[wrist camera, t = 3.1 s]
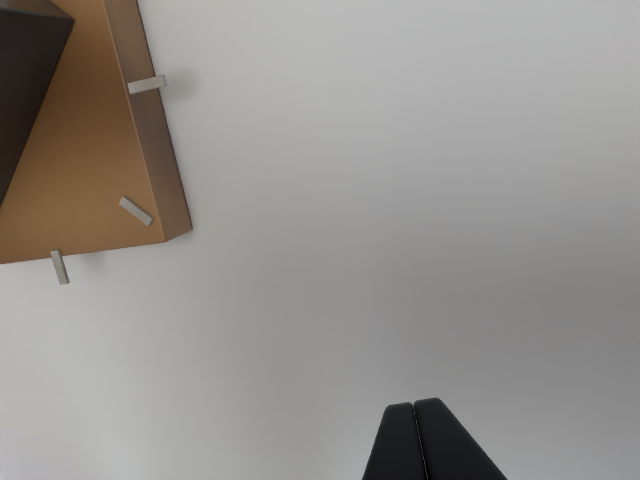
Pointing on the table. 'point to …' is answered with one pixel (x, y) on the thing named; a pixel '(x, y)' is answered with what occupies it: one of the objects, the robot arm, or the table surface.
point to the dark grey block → (25, 71)
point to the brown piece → (95, 148)
